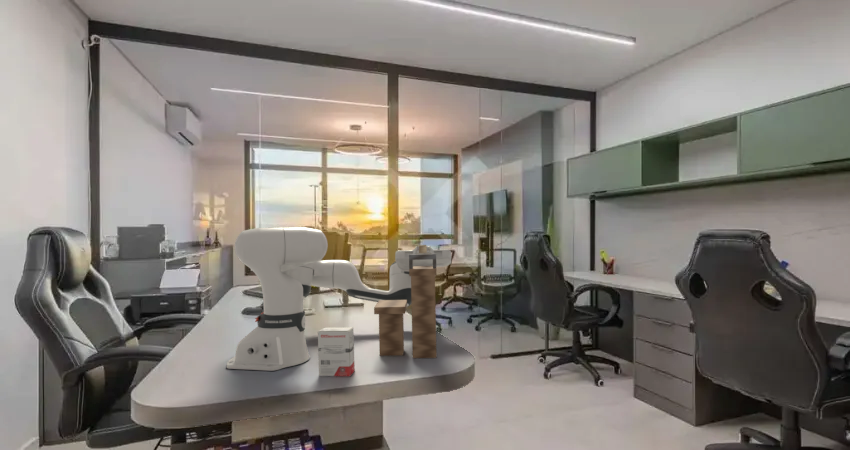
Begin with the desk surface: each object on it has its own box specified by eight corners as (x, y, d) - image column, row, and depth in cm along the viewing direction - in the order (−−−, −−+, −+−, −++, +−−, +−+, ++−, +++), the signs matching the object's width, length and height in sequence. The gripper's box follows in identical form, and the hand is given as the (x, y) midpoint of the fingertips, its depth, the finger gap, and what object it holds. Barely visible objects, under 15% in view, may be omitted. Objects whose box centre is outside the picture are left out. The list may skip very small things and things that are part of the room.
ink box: (355, 370, 111) (354, 326, 111) (350, 376, 106) (349, 330, 106) (324, 370, 112) (323, 326, 112) (317, 376, 107) (317, 330, 107)
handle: (419, 252, 133) (418, 245, 133) (419, 251, 148) (419, 245, 148) (426, 252, 133) (426, 245, 133) (426, 251, 148) (426, 245, 148)
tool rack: (375, 358, 121) (373, 255, 121) (379, 346, 134) (378, 253, 134) (438, 357, 121) (436, 254, 121) (437, 345, 134) (435, 252, 134)
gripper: (451, 272, 154) (453, 255, 142) (396, 273, 154) (394, 256, 142) (450, 257, 157) (452, 239, 146) (397, 258, 157) (394, 240, 146)
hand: (423, 247), depth 144 cm, fingers closed on handle, 2 cm apart
